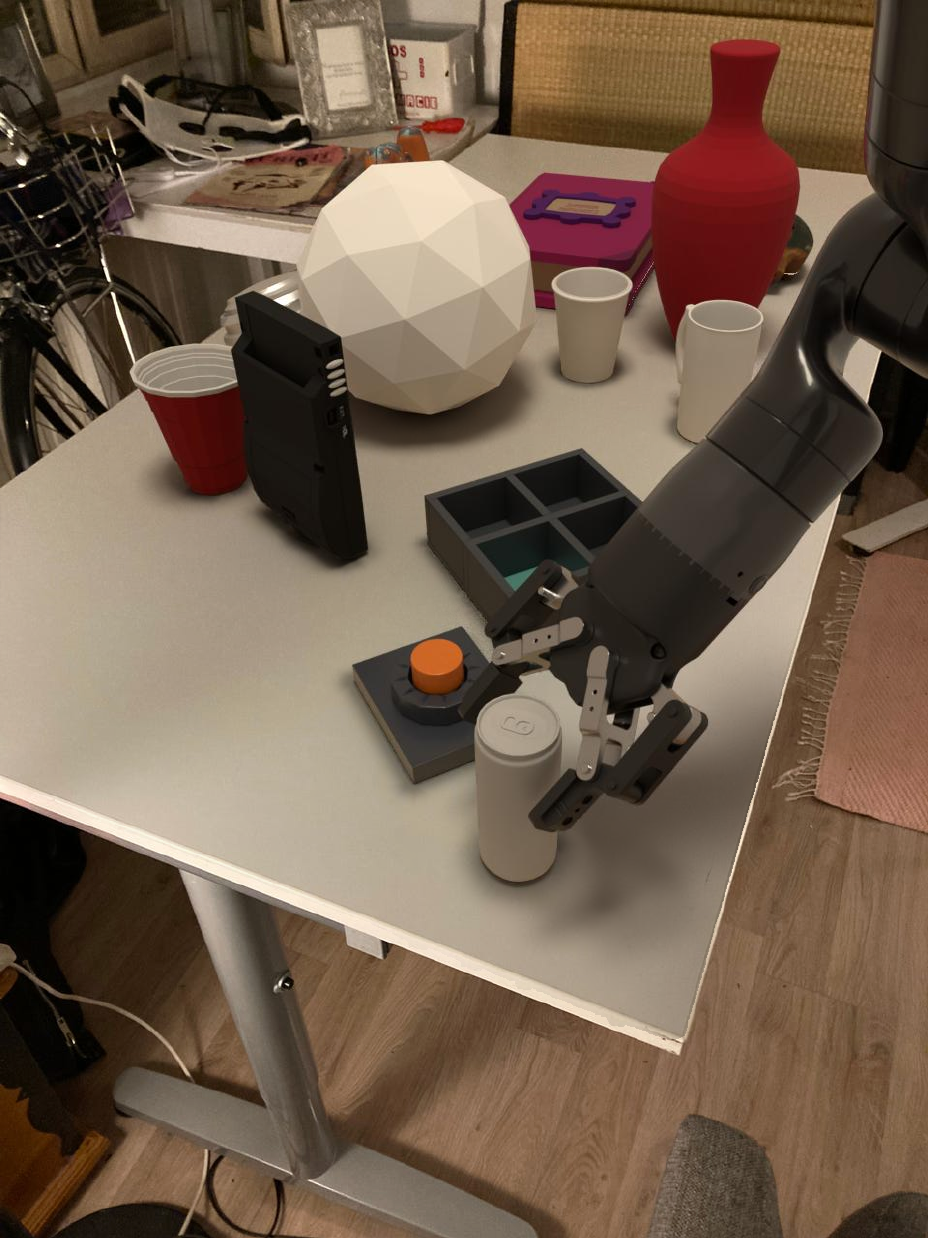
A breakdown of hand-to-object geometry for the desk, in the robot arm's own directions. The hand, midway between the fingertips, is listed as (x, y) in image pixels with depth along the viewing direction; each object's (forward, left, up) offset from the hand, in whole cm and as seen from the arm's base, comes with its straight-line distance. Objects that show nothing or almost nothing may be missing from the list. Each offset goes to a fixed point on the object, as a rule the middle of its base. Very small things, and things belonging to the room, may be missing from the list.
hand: (503, 770), depth 55 cm
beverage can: (0, -1, -9) cm, 9 cm away
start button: (+13, -2, -5) cm, 15 cm away
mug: (+37, -42, -9) cm, 57 cm away
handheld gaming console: (+38, -1, -9) cm, 39 cm away
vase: (+51, -53, -9) cm, 74 cm away
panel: (+13, -2, -9) cm, 16 cm away
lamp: (+59, -16, -9) cm, 62 cm away
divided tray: (+24, -17, -9) cm, 31 cm away
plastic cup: (+51, +4, -9) cm, 52 cm away
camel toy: (+91, -34, -9) cm, 97 cm away
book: (+78, -52, -9) cm, 94 cm away
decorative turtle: (+63, -72, -9) cm, 96 cm away
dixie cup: (+52, -38, -9) cm, 65 cm away
